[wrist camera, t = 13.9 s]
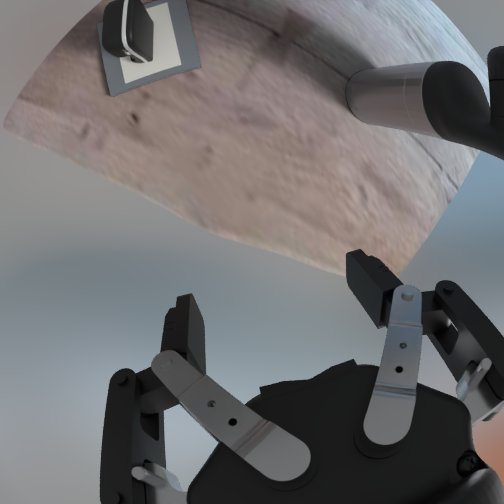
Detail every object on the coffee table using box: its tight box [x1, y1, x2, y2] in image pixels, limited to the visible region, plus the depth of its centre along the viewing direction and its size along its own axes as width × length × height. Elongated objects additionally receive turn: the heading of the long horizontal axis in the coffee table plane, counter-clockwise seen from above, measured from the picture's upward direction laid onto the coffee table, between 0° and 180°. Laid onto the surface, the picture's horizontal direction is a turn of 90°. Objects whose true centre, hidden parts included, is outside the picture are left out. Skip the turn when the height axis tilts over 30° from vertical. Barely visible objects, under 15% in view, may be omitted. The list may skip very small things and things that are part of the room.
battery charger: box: [102, 0, 154, 63], centre depth 21 cm, size 7×4×11 cm, turn 179°
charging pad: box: [97, 0, 202, 97], centre depth 26 cm, size 13×13×1 cm
